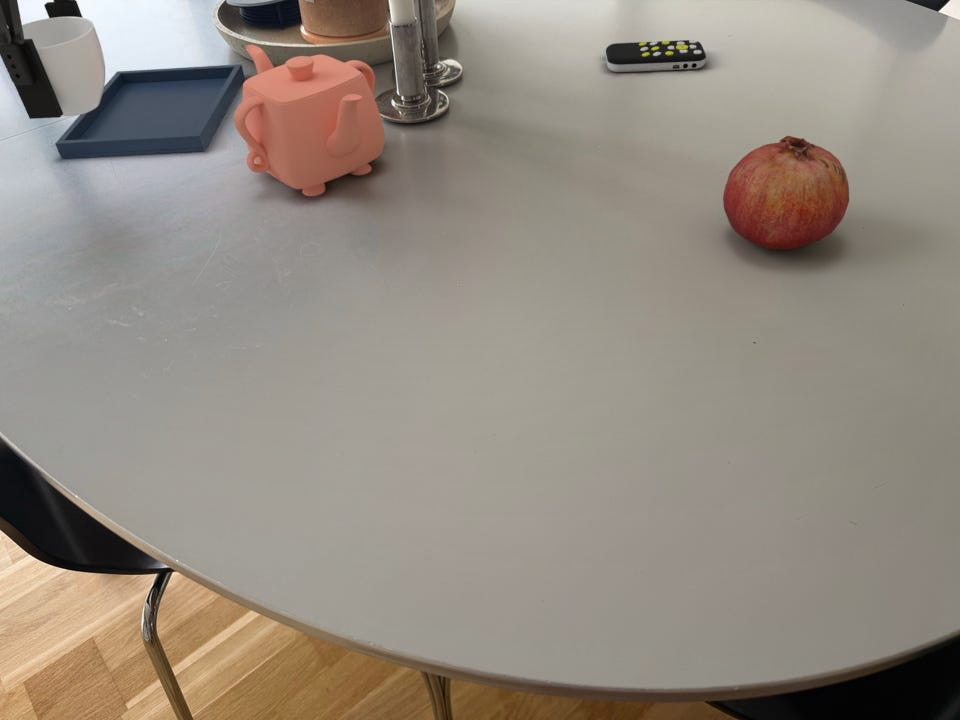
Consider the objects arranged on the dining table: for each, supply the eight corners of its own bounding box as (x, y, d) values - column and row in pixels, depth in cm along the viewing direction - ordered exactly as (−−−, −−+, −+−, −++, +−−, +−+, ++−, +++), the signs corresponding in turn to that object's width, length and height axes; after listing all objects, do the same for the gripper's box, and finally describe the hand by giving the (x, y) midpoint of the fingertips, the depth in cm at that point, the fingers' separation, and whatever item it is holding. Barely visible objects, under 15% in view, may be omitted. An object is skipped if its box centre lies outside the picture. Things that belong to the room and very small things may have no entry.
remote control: (604, 55, 112) (605, 41, 110) (699, 51, 111) (700, 36, 109) (607, 74, 107) (608, 59, 106) (706, 70, 106) (708, 54, 105)
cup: (43, 134, 71) (9, 57, 66) (18, 97, 77) (-15, 24, 73) (131, 107, 74) (104, 32, 70) (100, 74, 80) (73, 3, 76)
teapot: (378, 206, 86) (359, 89, 77) (228, 204, 88) (193, 91, 79) (404, 139, 97) (390, 31, 88) (270, 139, 99) (244, 34, 90)
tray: (204, 151, 98) (199, 135, 96) (61, 158, 99) (54, 143, 97) (245, 78, 114) (241, 64, 112) (122, 85, 115) (116, 71, 113)
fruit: (840, 220, 78) (867, 122, 72) (832, 279, 71) (860, 177, 65) (727, 204, 82) (742, 109, 75) (708, 258, 75) (723, 160, 68)
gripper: (-83, -183, 51) (60, 146, 66) (56, -227, 67) (146, 47, 82) (-197, -176, 52) (-29, 150, 67) (-32, -221, 68) (74, 51, 83)
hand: (67, 93), depth 75 cm, fingers closed on cup, 9 cm apart
